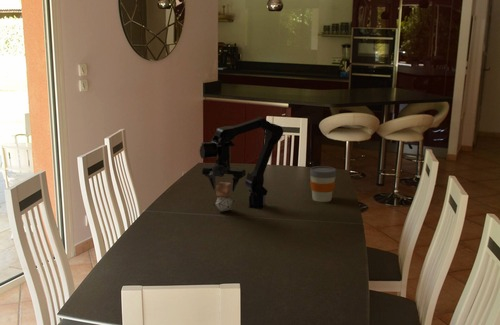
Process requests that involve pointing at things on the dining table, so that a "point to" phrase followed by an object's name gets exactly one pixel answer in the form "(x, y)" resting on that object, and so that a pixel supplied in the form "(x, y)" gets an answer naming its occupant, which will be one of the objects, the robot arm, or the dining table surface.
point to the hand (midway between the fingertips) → (223, 190)
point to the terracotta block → (223, 189)
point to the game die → (223, 203)
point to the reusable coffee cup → (322, 183)
